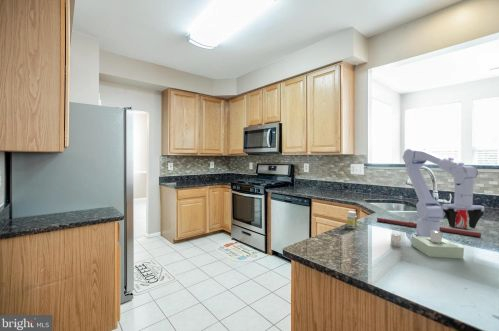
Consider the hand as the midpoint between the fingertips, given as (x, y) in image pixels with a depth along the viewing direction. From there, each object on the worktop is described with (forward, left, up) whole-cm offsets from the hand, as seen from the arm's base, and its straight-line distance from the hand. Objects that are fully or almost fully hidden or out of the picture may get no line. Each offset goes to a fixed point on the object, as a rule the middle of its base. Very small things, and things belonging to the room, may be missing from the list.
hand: (461, 227), depth 100 cm
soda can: (-38, +25, -10) cm, 46 cm away
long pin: (+4, -12, -9) cm, 16 cm away
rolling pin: (-31, +3, -10) cm, 33 cm away
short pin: (-1, -25, -10) cm, 27 cm away
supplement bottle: (-26, -36, -10) cm, 45 cm away
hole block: (+4, -12, -9) cm, 16 cm away
